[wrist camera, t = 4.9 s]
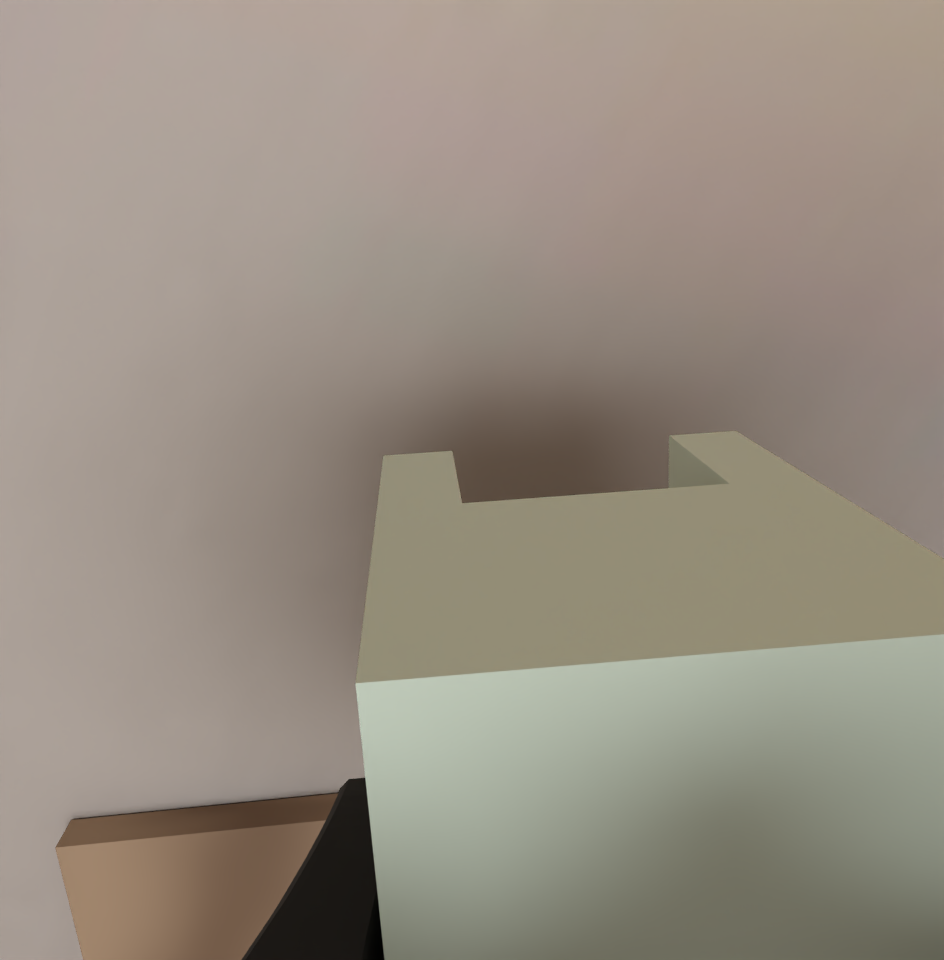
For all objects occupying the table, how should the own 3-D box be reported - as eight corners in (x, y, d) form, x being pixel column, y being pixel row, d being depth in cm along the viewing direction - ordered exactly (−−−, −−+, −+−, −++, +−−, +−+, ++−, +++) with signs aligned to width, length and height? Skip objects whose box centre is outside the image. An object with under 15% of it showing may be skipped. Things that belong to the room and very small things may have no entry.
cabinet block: (735, 431, 13) (1051, 625, 6) (720, 877, 15) (942, 1342, 9) (383, 455, 12) (355, 684, 6) (422, 906, 15) (431, 1406, 8)
